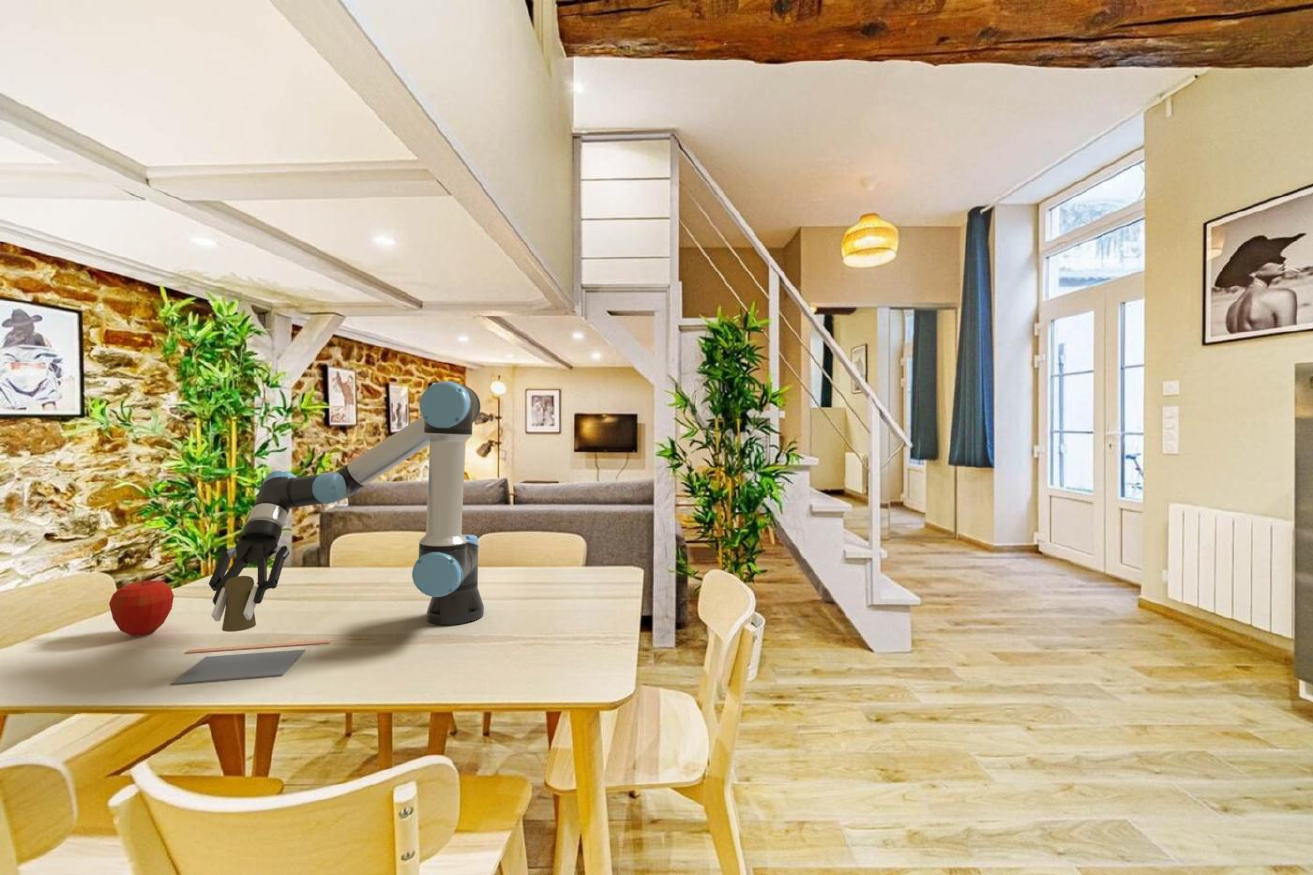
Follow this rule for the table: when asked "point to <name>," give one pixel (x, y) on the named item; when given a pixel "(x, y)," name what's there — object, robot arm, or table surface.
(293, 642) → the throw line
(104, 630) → the table surface
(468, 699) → the table surface
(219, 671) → the mat
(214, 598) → the robot arm
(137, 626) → the apple
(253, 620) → the cork
